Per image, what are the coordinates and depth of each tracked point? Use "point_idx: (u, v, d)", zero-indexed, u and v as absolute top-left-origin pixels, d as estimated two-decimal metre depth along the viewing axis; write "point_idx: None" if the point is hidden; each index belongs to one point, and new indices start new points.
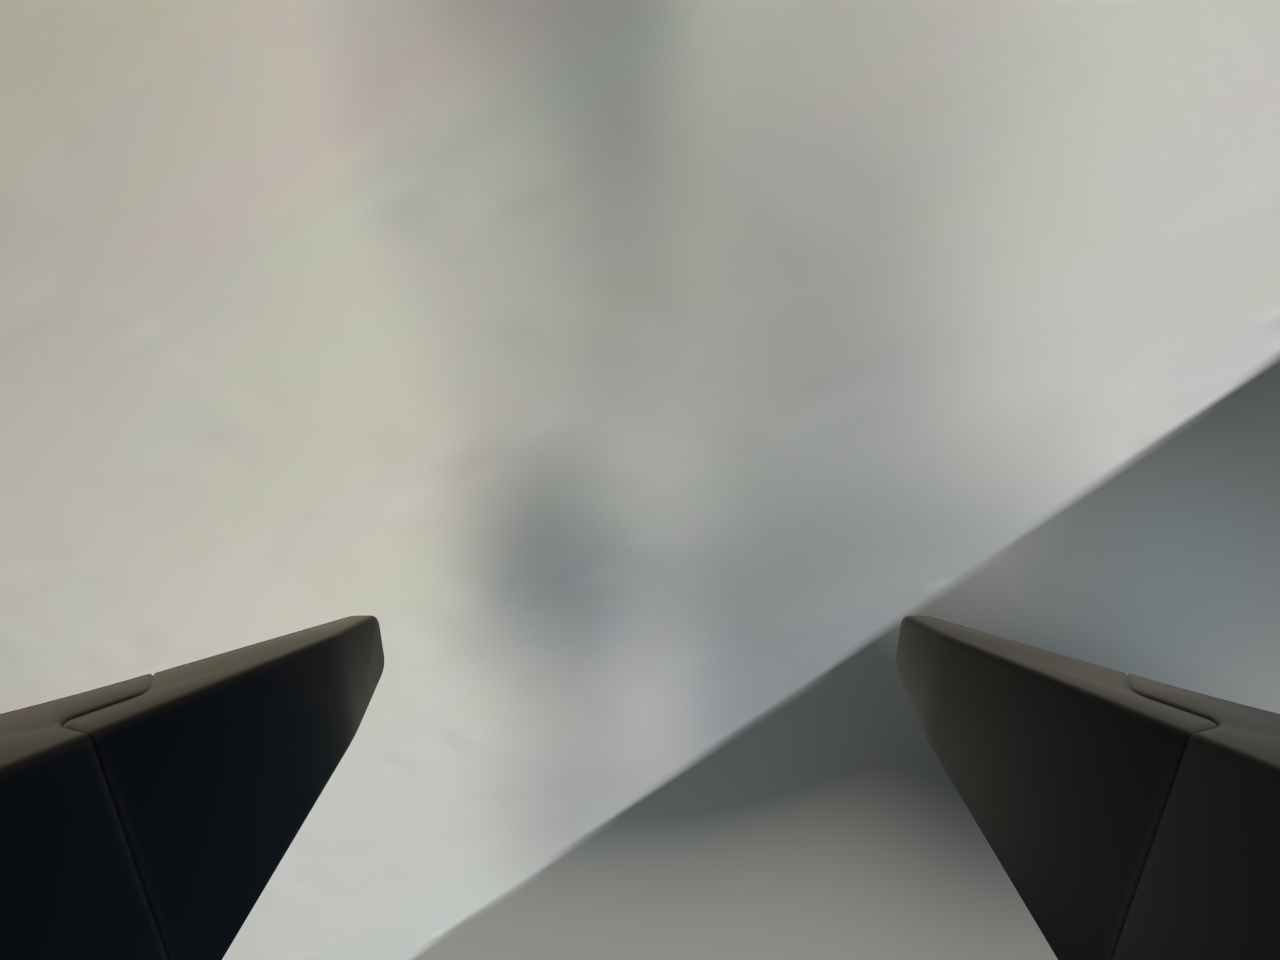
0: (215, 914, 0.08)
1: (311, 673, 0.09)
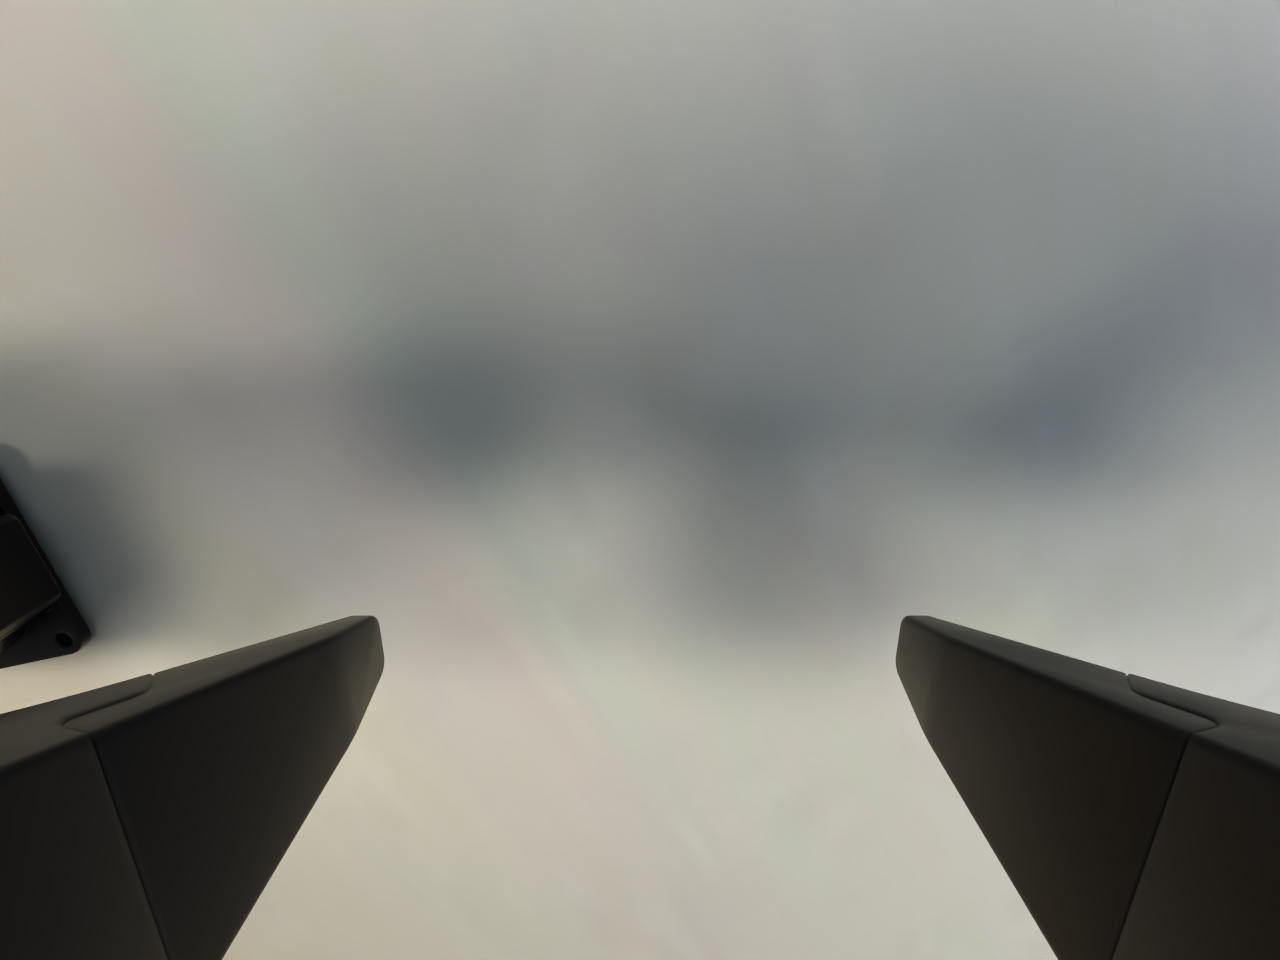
0: (216, 914, 0.08)
1: (311, 673, 0.09)
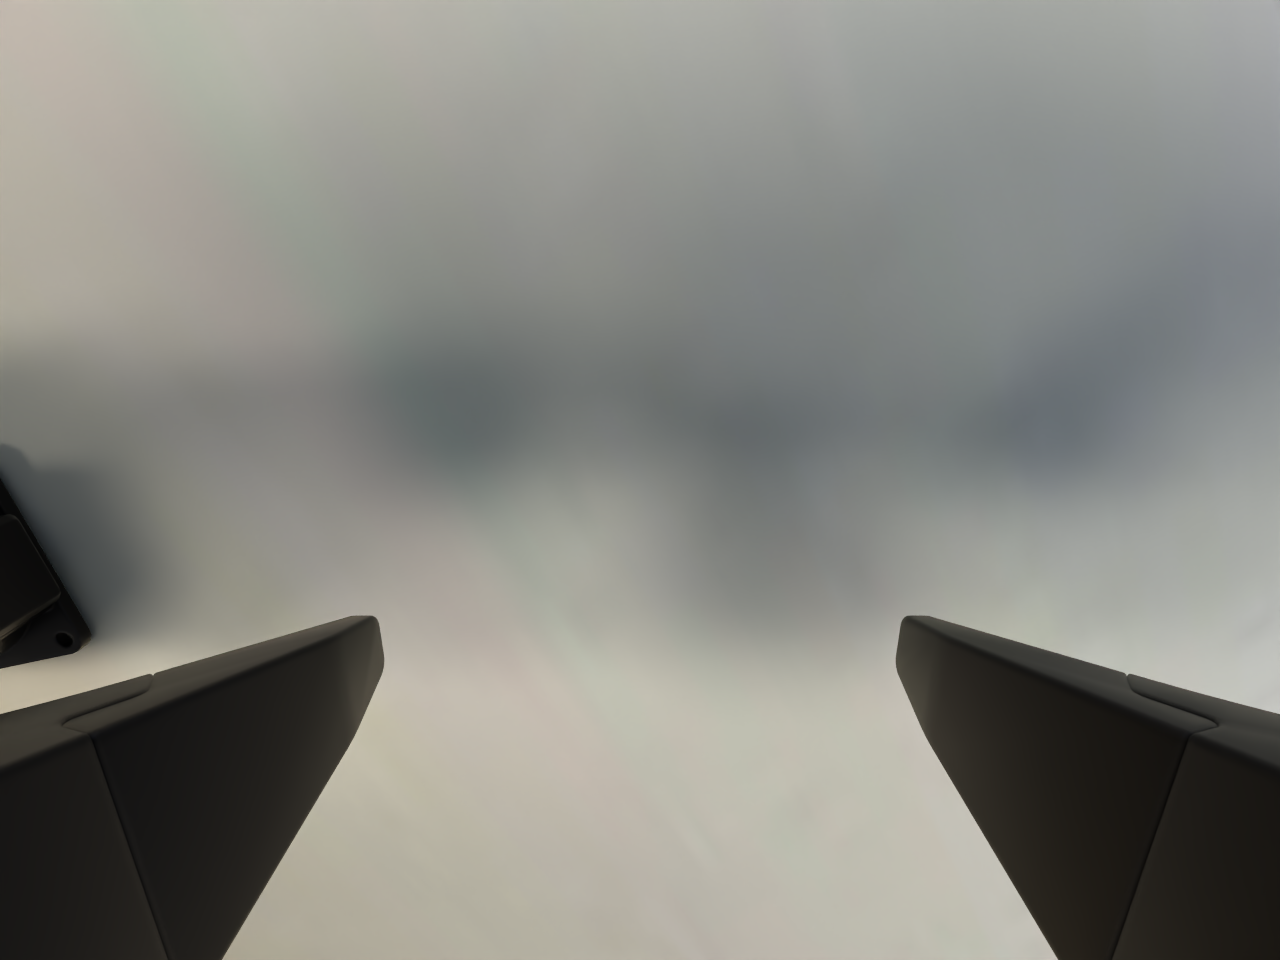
0: (216, 914, 0.08)
1: (311, 673, 0.09)
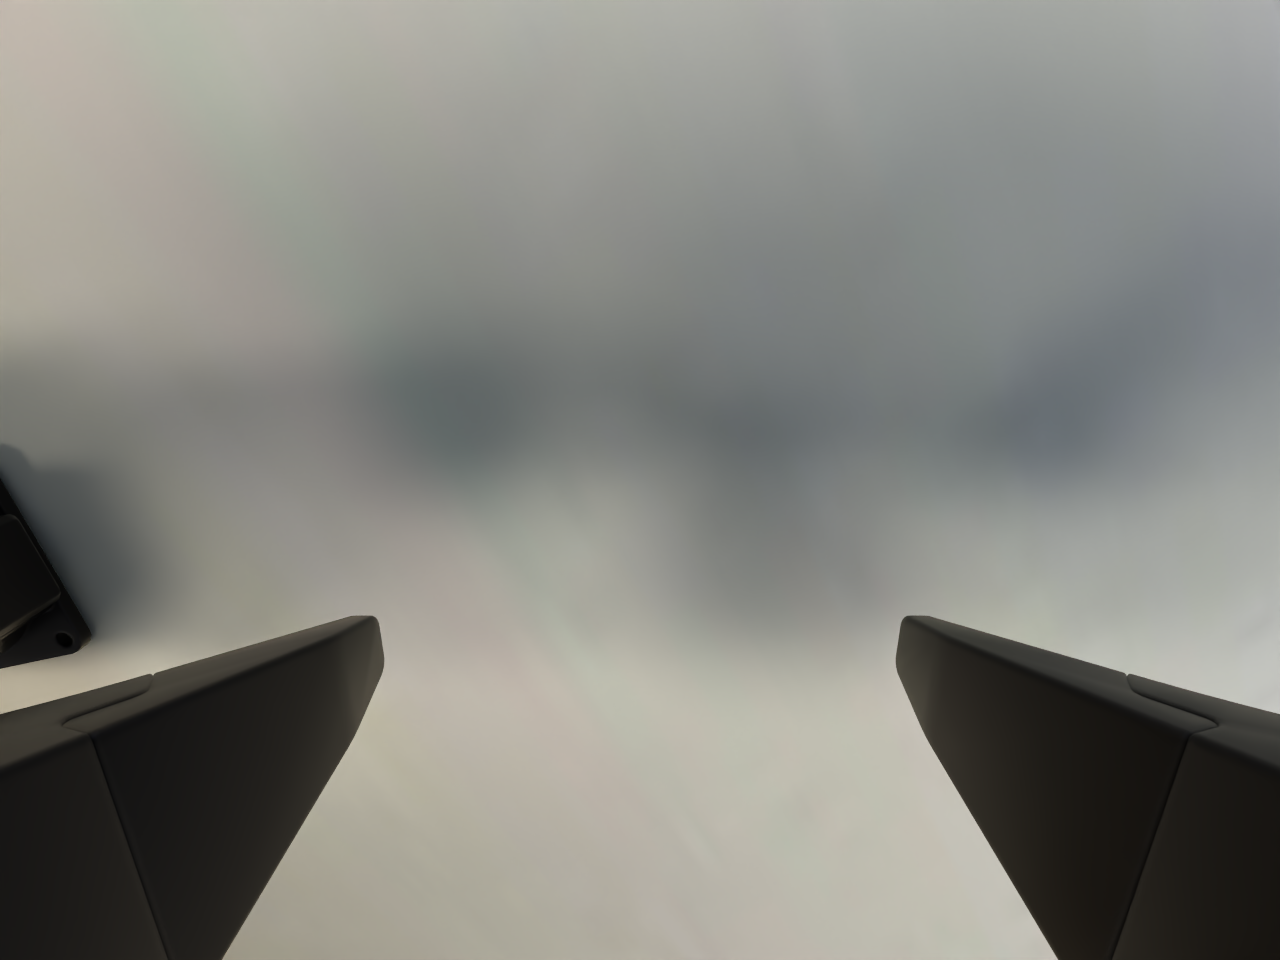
0: (216, 914, 0.08)
1: (311, 673, 0.09)
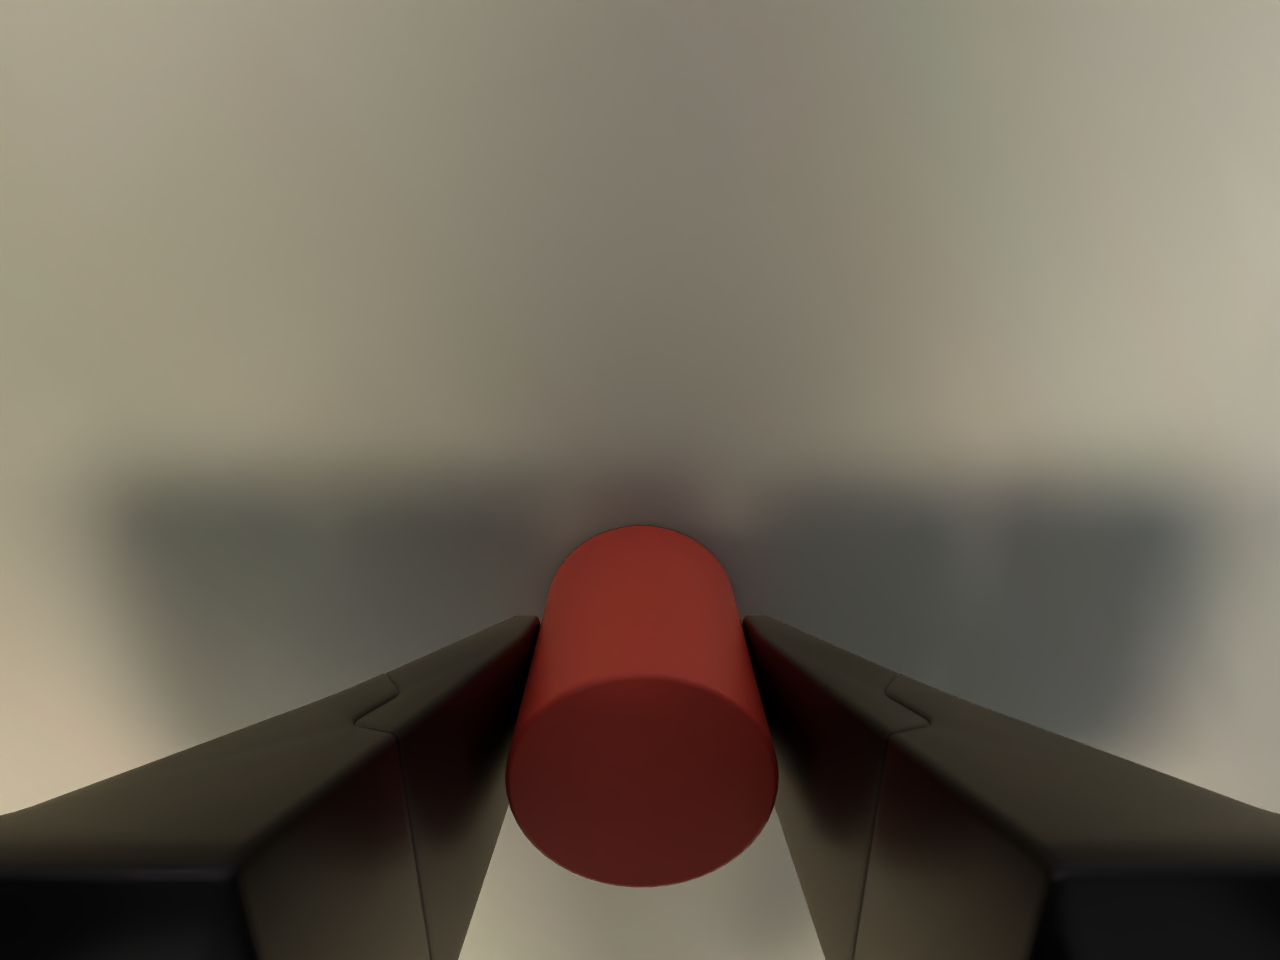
0: (455, 914, 0.08)
1: (510, 673, 0.09)
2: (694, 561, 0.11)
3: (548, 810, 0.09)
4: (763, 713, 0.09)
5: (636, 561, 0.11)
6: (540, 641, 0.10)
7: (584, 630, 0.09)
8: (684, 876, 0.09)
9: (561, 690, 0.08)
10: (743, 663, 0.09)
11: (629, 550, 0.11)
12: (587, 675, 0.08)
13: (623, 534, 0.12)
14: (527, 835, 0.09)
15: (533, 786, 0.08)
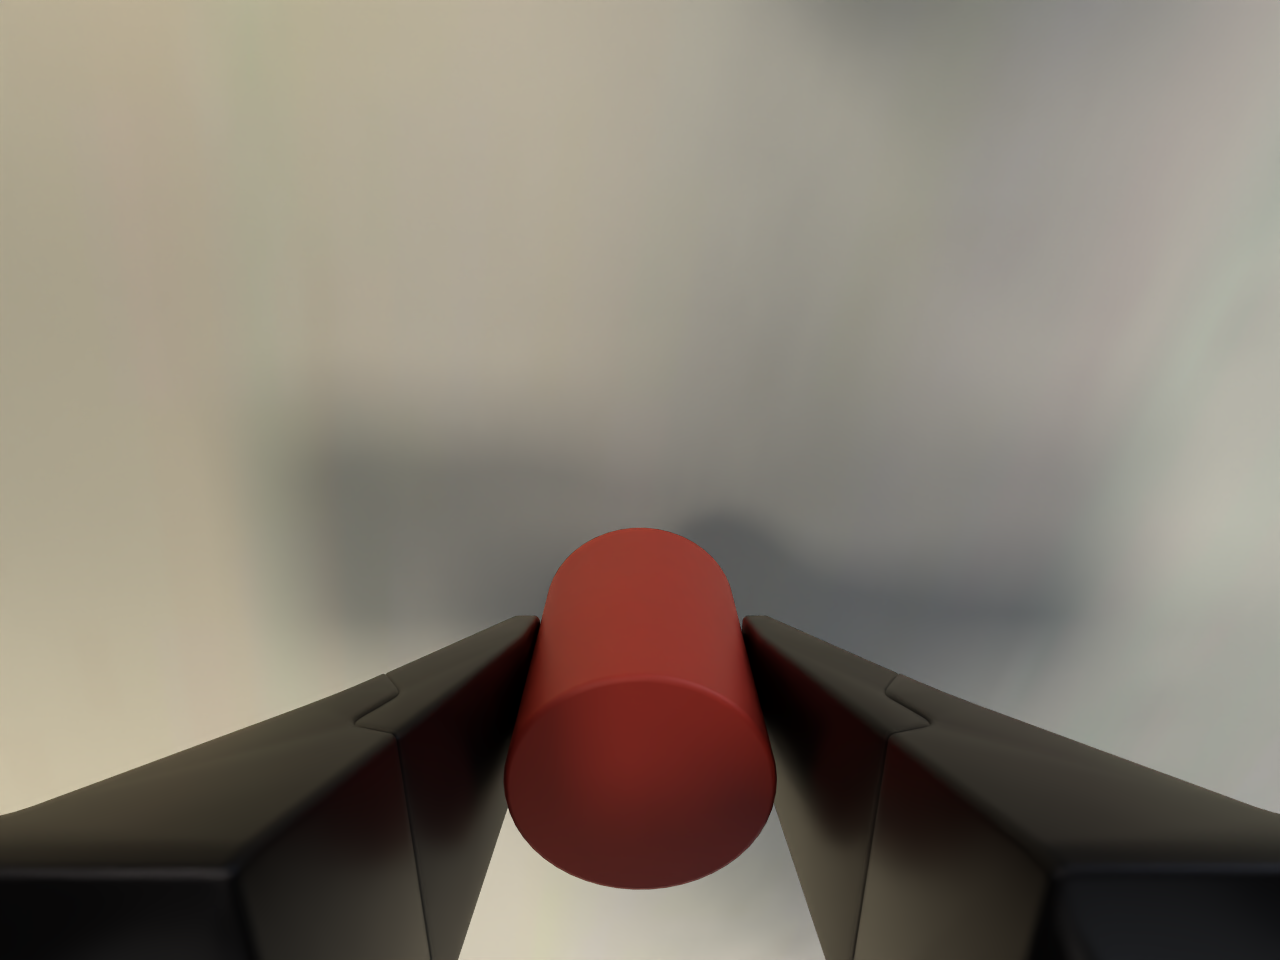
0: (455, 914, 0.08)
1: (510, 673, 0.09)
2: (693, 563, 0.11)
3: (547, 814, 0.09)
4: (761, 716, 0.09)
5: (634, 563, 0.11)
6: (539, 643, 0.10)
7: (582, 632, 0.09)
8: (682, 878, 0.09)
9: (560, 693, 0.08)
10: (741, 665, 0.09)
11: (628, 551, 0.11)
12: (585, 678, 0.08)
13: (622, 536, 0.12)
14: (525, 837, 0.09)
15: (531, 788, 0.08)
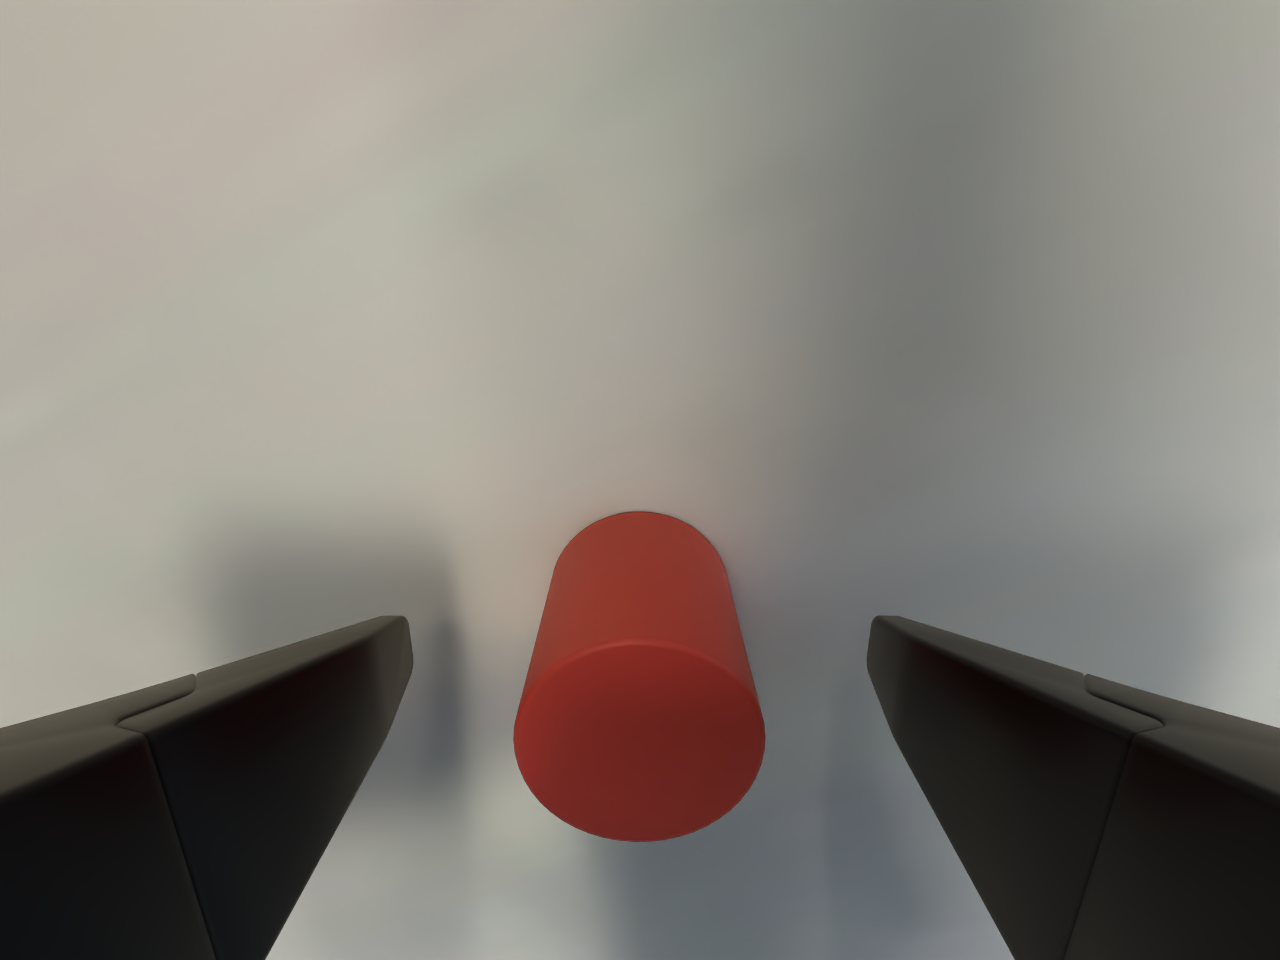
0: (260, 914, 0.08)
1: (348, 673, 0.09)
2: (689, 544, 0.12)
3: (554, 769, 0.09)
4: (751, 679, 0.09)
5: (634, 543, 0.11)
6: (545, 617, 0.11)
7: (586, 604, 0.10)
8: (679, 831, 0.10)
9: (566, 656, 0.09)
10: (733, 635, 0.10)
11: (628, 533, 0.12)
12: (588, 642, 0.09)
13: (622, 520, 0.12)
14: (534, 792, 0.09)
15: (540, 745, 0.09)
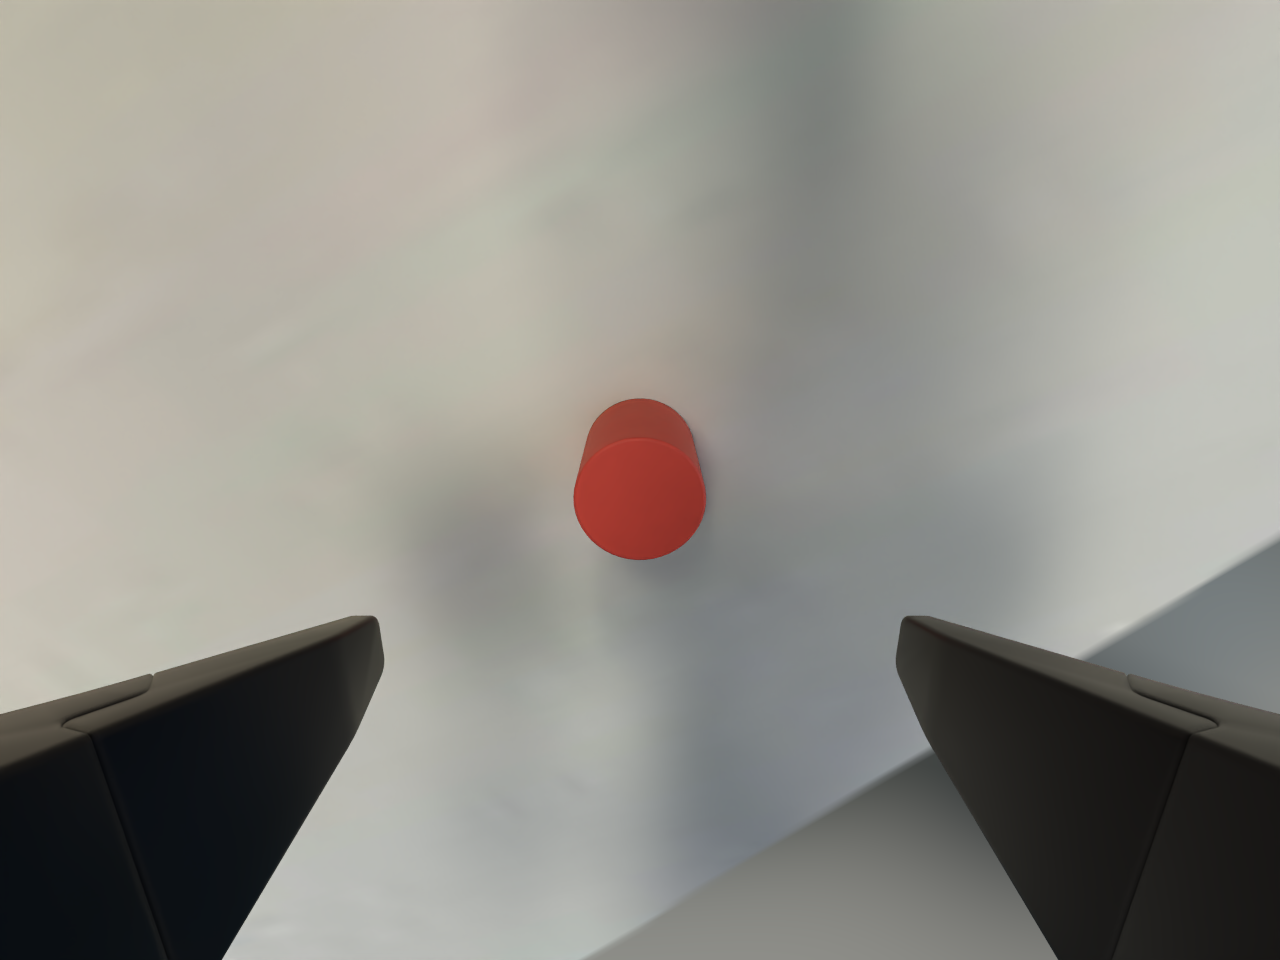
0: (216, 913, 0.08)
1: (311, 673, 0.09)
2: (669, 413, 0.20)
3: (594, 514, 0.18)
4: (699, 468, 0.18)
5: (636, 409, 0.20)
6: (586, 447, 0.19)
7: (610, 431, 0.18)
8: (661, 553, 0.18)
9: (602, 448, 0.17)
10: (691, 450, 0.18)
11: (633, 406, 0.20)
12: (613, 441, 0.17)
13: (629, 401, 0.21)
14: (583, 527, 0.18)
15: (587, 499, 0.18)
